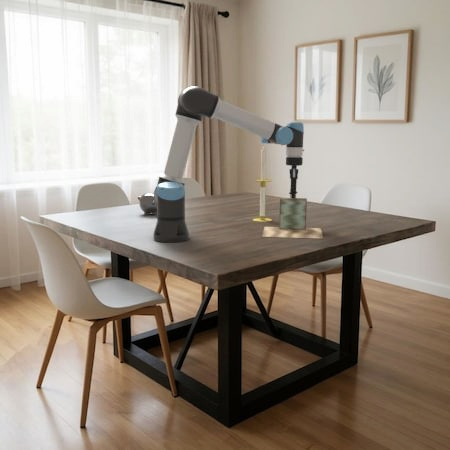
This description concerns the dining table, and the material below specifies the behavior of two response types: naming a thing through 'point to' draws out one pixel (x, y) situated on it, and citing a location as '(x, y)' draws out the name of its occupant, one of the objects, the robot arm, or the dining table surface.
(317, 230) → the light wooden board
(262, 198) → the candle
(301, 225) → the panel
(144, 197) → the piggy bank
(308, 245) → the dining table surface
